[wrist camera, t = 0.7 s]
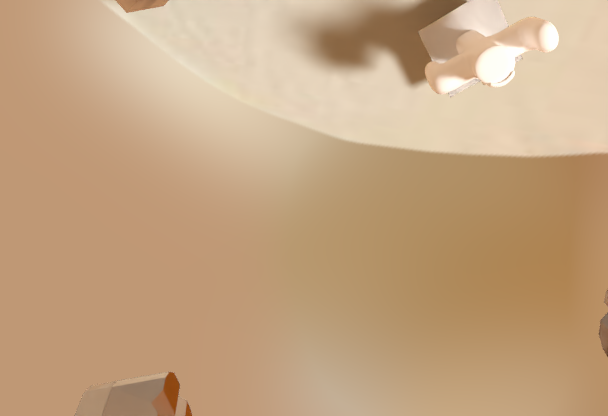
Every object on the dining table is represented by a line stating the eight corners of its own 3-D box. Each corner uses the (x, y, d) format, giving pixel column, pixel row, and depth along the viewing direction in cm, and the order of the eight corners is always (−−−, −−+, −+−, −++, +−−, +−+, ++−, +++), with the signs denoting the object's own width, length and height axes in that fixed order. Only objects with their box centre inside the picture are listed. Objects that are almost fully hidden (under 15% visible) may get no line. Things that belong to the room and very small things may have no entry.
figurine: (404, 33, 48) (415, 58, 35) (495, -22, 45) (544, -16, 31) (435, 94, 50) (456, 139, 37) (523, 46, 47) (580, 78, 34)
